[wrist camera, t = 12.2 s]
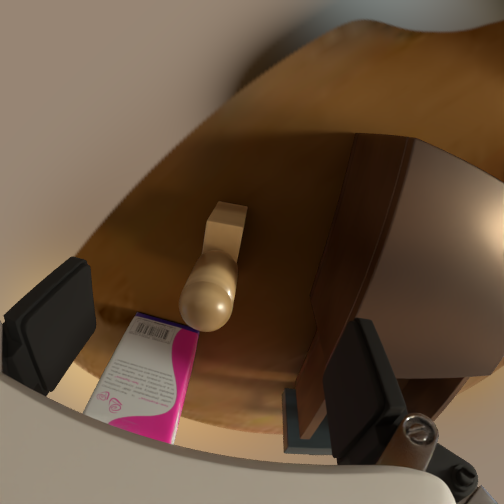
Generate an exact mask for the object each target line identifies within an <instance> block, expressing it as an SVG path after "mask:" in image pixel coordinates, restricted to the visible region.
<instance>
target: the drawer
mask: <svg viewBox="0 0 504 504" xmlns="http://www.w3.org/2000/svg"><path fill="white" fill-rule="evenodd" d="M326 368H327V367H326V364H325V359H324V355H323V350H322V346H321V342H320V337H319V333H318V329H317V332H316V334H315V337H314V339H313V342H312V344H311V347H310V349H309V351H308V354H307V356H306V358H305V361H304V363H303V365H302V368H301V370H300V372H299V374H298V377H297V379H296V381H295V387H296V389H289V388H285V389H284V391H283V394H282V415H283V440H284V441H283V442H284V453H288V454H309V455H332V449H331V441H330V433H329V425H328V418H327V410H326V403H325V396H324V389H323V383H322V379H323V374H324V372H325V370H326ZM468 379H469V377H457V378H424V379H404V378H396V380H397V382H398V385H399V387H400V390H401V393H402V395H403V398H404V401H405V404H406V406H407V408H406V409H407V412H408V414H410V413H420V414H423V415H425V416H427V417H428V418H430V419H431V420H432V421H433V422H434V421H435V419H436V418H437V417H438V416H439V415H440V414H441V413H442V411H443V410H444V409H445V408H446V407H447V405H448V404H449V403H450V402H451V401H452V399H453V398H454V397H455V396H456V395H457V393H458V392H459V391H460V389H461V388H462V387H463V386H464V384H465V383H466V382H467V380H468Z"/></svg>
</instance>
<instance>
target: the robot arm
mask: <svg viewBox="0 0 504 504" xmlns="http://www.w3.org/2000/svg"><path fill="white" fill-rule="evenodd" d="M4 319H5V322H4V323H3V324H2V323H1V321H0V504H498V503H497V502H496V501H495V500H494V499H493V498H492V496H491V495H490V494H489V493H488V492H487V491H486V490H485V489H484V487H483V486H482V485H481V486H479V487H477V484H478V475H477V473H476V470H475V469H474V467H473V466H472V465H471V464H469V463H468V462H466V461H465V460H463V459H462V458H460V457H458V456H457V455H455V454H454V453H452V452H451V451H449V450H448V449H446V448H445V447H443V446H442V445H440V444H439V443H437V442H438V437H439V434H438V429H437V427H436V425H435V423H434V422H433V421H432V420H431V419H430V418H428V417H427V416H425V415H423V414H420V413H410V414H408V412H407V409H406V408H407V406H406V404H405V401H404V398H403V395H402V393H401V390H400V387H399V385H398V382H397V380H396V377H395V374H394V372H393V369H392V367H391V364H390V362H389V359H388V357H387V355H386V352H385V350H384V347H383V345H382V342H381V340H380V338H379V335H378V333H377V331H376V328H375V326H374V324H373V322H372V320H370V319H364V318H355V319H354V320H353V321H349V322H348V324H347V326H346V328H345V331H344V333H343V335H342V337H341V339H340V341H339V343H338V345H337V348H336V350H335V352H334V354H333V356H332V358H331V360H330V362H329V364H328V366H327V368H326V370H325V372H324V374H323V379H322V383H323V389H324V396H325V403H326V410H327V418H328V425H329V433H330V441H331V449H332V456H333V457H334V458H337V465H312V464H292V463H278V462H268V461H258V460H251V459H244V458H236V457H229V456H225V455H219V454H213V453H208V452H203V451H198V450H193V449H190V448H185V447H181V446H177V445H173V444H169V443H165V442H162V441H158V440H155V439H151V438H148V437H145V436H141V435H138V434H135V433H132V432H129V431H126V430H123V429H120V428H118V427H115V426H112V425H109V424H107V423H104V422H101V421H99V420H96V419H94V418H91V417H89V416H87V415H84V414H82V413H79V412H77V411H75V410H72V409H70V408H68V407H66V406H64V405H62V404H60V403H58V402H56V401H54V400H51V399H49V398H47V397H46V396H47V394H48V393H49V391H50V392H52V391H53V390H54V389H55V388H56V386H57V385H58V383H59V382H60V380H61V378H62V377H63V376H64V374H65V373H66V371H67V370H68V368H69V367H70V365H71V364H72V362H73V361H74V359H75V358H76V357H77V355H78V354H79V352H80V351H81V349H82V348H83V347H84V345H85V344H86V342H87V341H88V340H89V338H90V337H91V336H92V334H93V333H94V331H95V329H96V317H95V309H94V301H93V291H92V280H91V269H90V266H89V265H88V264H87V261H86V260H84V259H80V258H76V257H70V258H69V259H68V260H66V261H65V262H64V263H63V264H61V265H60V266H59V267H58V268H57V269H55V270H54V271H53V272H52V273H51V274H49V275H48V276H47V277H46V278H45V279H43V280H42V281H41V282H40V283H39V284H38V285H36V286H35V287H34V288H33V289H32V290H31V291H30V292H29V293H27V294H26V295H25V296H24V297H23V298H22V299H21V300H20V301H18V302H17V303H16V304H15V305H14V306H13V307H12V308H11V309H10V310H9V311H8V312H7V313H6V314H5V315H4Z"/></svg>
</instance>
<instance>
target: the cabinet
mask: <svg viewBox="0 0 504 504" xmlns="http://www.w3.org/2000/svg"><path fill="white" fill-rule="evenodd" d="M310 299H311V303H312V308H313V312H314V316H315V320H316V324H317V329H318V333H319V337H320V342H321V346H322V350H323V355H324V359H325V364H326V367H327V366H328V364H329V362H330V360H331V358H332V356H333V354H334V352H335V350H336V348H337V345H338V343H339V341H340V339H341V337H342V335H343V333H344V331H345V328H346V326H347V324H348V322H349V321H353V320H354V319H355V318H364V319H370V320H372V322H373V324H374V326H375V328H376V331H377V333H378V335H379V338H380V340H381V342H382V345H383V347H384V350H385V352H386V355H387V357H388V359H389V362H390V364H391V367H392V369H393V372H394V374H395V377H396V378H404V379H424V378H457V377H473V376H486V375H491V374H492V372H493V371H494V370H495V368H496V367H497V365H498V364H499V362H500V361H501V359H502V358H503V356H504V182H502V181H500V180H499V179H497V178H495V177H494V176H492V175H490V174H488V173H487V172H485V171H483V170H481V169H479V168H478V167H476V166H474V165H472V164H470V163H468V162H466V161H464V160H462V159H460V158H458V157H456V156H454V155H452V154H450V153H448V152H446V151H444V150H442V149H440V148H438V147H435V146H433V145H431V144H429V143H426V142H424V141H422V140H419V139H417V138H412V137H404V136H394V135H382V134H368V133H356V134H355V138H354V142H353V147H352V151H351V155H350V159H349V163H348V167H347V171H346V175H345V179H344V183H343V186H342V190H341V194H340V197H339V201H338V205H337V208H336V212H335V215H334V219H333V222H332V226H331V229H330V233H329V236H328V239H327V243H326V246H325V249H324V252H323V256H322V259H321V262H320V265H319V268H318V272H317V275H316V278H315V281H314V284H313V287H312V290H311V293H310Z"/></svg>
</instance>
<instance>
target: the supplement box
mask: <svg viewBox="0 0 504 504" xmlns="http://www.w3.org/2000/svg"><path fill="white" fill-rule="evenodd" d="M198 337H199V331H198V330H196V329H193V328H192V327H188V326H185V325H181V324H177V323H174V322H170V321H166V320H163V319H159V318H156V317H152V316H149V315H146V314H142V313H139V312H137V313H136V315H135V317H134V318H133V320H132V321H131V323H130V325H129V327H128V328H127V330H126V332H125V334H124V335H123V337H122V339H121V341H120V342H119V344H118V346H117V348H116V350H115V352H114V353H113V355H112V357H111V359H110V361H109V363H108V365H107V367H106V368H105V370H104V372H103V374H102V376H101V378H100V380H99V382H98V384H97V386H96V388H95V389H94V392H93V394H92V396H91V398H90V400H89V401H88V404H87V405H86V407H85V410H84V411H83V414H84V415H87V416H89V417H91V418H94V419H96V420H99V421H101V422H104V423H107V424H109V425H112V426H115V427H118V428H120V429H123V430H126V431H129V432H132V433H135V434H138V435H141V436H145V437H148V438H151V439H155V440H158V441H162V442H165V443H169V444H174V441H175V437H176V433H177V428H178V424H179V419H180V416H181V412H182V408H183V404H184V400H185V396H186V392H187V388H188V384H189V380H190V376H191V372H192V367H193V363H194V358H195V353H196V348H197V343H198Z"/></svg>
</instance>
